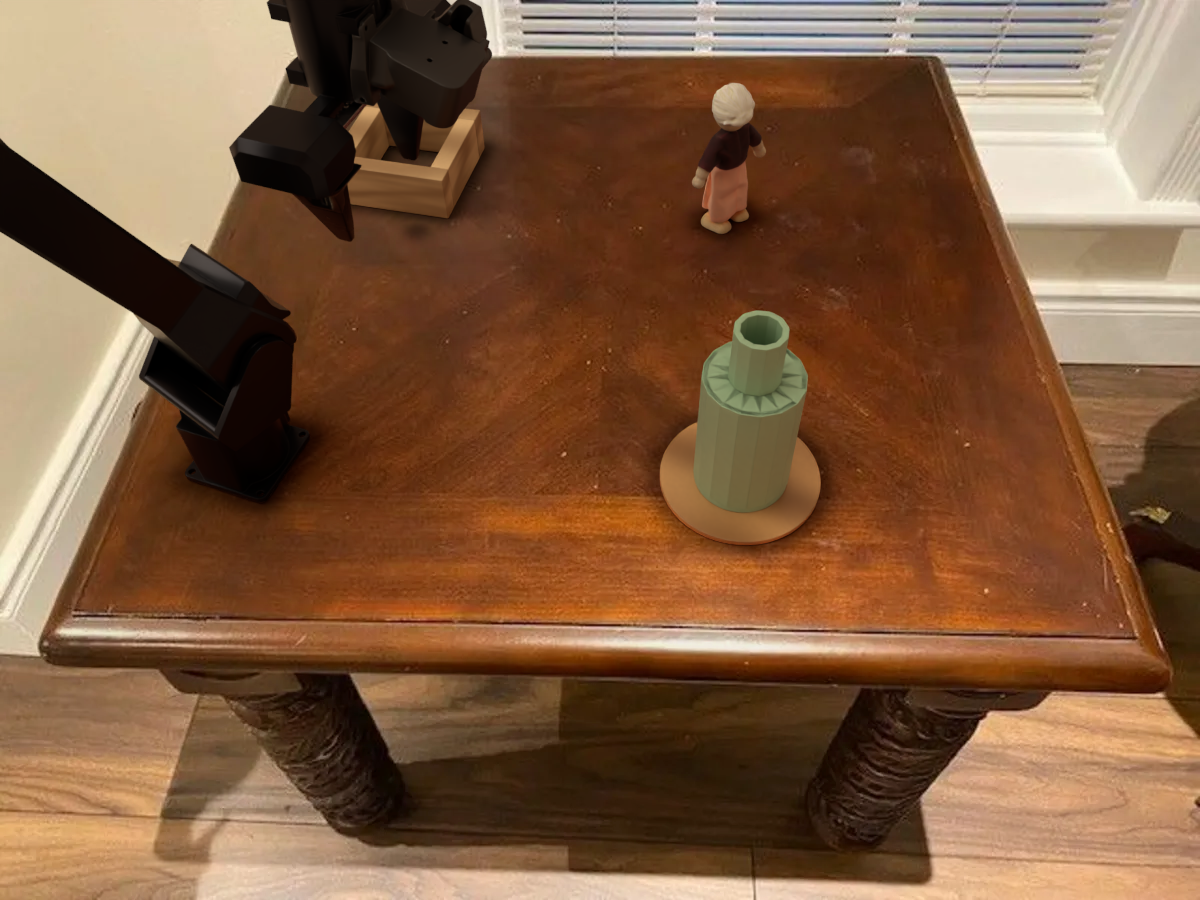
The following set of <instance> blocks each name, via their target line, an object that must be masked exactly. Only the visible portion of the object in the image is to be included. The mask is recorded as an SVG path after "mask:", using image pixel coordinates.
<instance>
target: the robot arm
mask: <svg viewBox="0 0 1200 900" xmlns="http://www.w3.org/2000/svg"><path fill="white" fill-rule="evenodd" d="M266 6H267V8H268V12H269V16H270V19H271V20H274V21H279V22H283V23H284V22H285V23H288V26H289V29H290V34H291V38H292V40H293V45H294V48H295V53H296V57H295V58H294V59H293V60H292V61H291V62H290V63H289V64H288V65H287V66H286V67H285V73H286V76H287V79H288V83H289V84H291V85H293V86H300V87H305V88H308V90H309V92H310V94H311V95H313V96H314V97H316V98H315V99H314V100H313V101H312V103H311V104H309V105H308V107H307V108H306V109H305V110H304V111H300V110H297V109H292V108H286V107H283V106H278V105H274V104H273V105H272V104H269V105H268V106H267V107H266V108H265V109H264V110H263V111H262V112H261V113H260V114H259V115H258V116H257V117H256V118H255V119H254V120H253V121H252V122H251V123H250V124H249V125H247V127H246V128H245V129H244V130H243V131H242V132H241V133H240V134H239V135H238V136H237V137H236V139H235V140H234V141H233V142H232V143H231V144H230V146H229V147H228V148H229V152H230V154H231V158H232V160H233V162H234V163H233V164H234V166H235V168H236V172H237V174H238V177H239V179H240V182H242V183H246V184H249V185H253V186H259V187H262V188H266V189H271V190H274V191H279V192H284V193H288V194H291V195H293V197H295V199H297V200H298V201H299V202H300V203H301V204H302V205H303V206H304V207H305V208H306V209H308V210H309V212H310V213H311V214H312V215H313V216H314V217H315V218H316V219H318V220H319V221H320V222H321V223H322V224H323V226H325V228H327V230H328V231H330V232H331V234H333V235H334V236H335V238H337V239H338V240H339V241H345V242H350V243H351V242H353V240H354V239H355V224H354V216H353V210H352V204H351V203H350V197H349V191H348V185H347V184H348V183H349V181H350V180H351V179H352V178H353V177H354V175H355V174H356V173H357V172H358V171H359V169H360V168H361V165H360V164H356V163H354V160H355V155H356V148H355V144H354V140H353V136H352V135H351V134H350V133H349V132H348V131H349V130H347V128H348V127H349V126H350V125H351V123H352V122H354V120H355V119H357V118H358V116H359V115H360V113H361V112H362V110H363V109H364V108H365V106H366V105H370V106H374V105H375V104H376V103H377V104H378V107H379V109H380V111H381V113H382V116H383V118H384V120H385V123H386V125H387V127H388V130H389V132H390V134H391V137H392V139H393V141H394V143H395V145H396V146H397V147H396V146H395V147H396V148H397V150H398V152H399V155H400V156H401V157H402V158H403V159H404V160H409V161H412V162H414V161H417V159H418V158H419V156H420V155H419V154H420V150H419V149H420V142H421V135H422V128H423V121H424V120H425V122H426V123H428V124H430V125H432V126H434V127H436V128H449V127H451V126H453V125H454V124H455V122H456V121H457V119H458V117H459V116H460V114H461V113H462V112H463V110H464V109H465V108H466V109H467V107H468V105H469V104H470V103H472V102H473V101H474V99H475V98H476V94H477V91H478V88H479V84H480V79H481V75H482V72H483V69H484V68H485V67H486V66H487V64H488V63H489V61H490V60H491V59H492V58H493V52H492V49H491V48H490V47H489V46H490V42H491V41H490V40H489V39H487V38H488V30H487V26H486V21H485V18H484V17H485V16H484V12H483V7H482V6H481V5H479V4H477V3H476V2H473V1H472V0H455V1H454V2H453V3H452V4H451V3H450V2H449V1H448V0H267V1H266ZM0 233H1V234H3V235H4V236H6V237H8V238H9V239H10V240H12V241H14V242H16V243H18V244H19V245H21V246H22V247H24V248H25V249H27V250H29V251H31V252H32V253H34V254H35V255H38V257H40V258H42V259H43V260H45V261H46V262H48V263H50V264H51V265H53V266H55V267H56V268H58V269H60V270H61V271H63V272H65V273H66V274H67V275H70V276H71V277H72V278H75V279H76V280H78V281H79V282H81V283H83V284H84V285H86V286H88V287H89V288H91V289H93V290H94V291H95V292H98V293H99V294H101V295H103V296H104V297H106V298H107V299H109V300H111V301H112V302H114V303H116V304H117V305H119V306H120V307H122V308H124V309H125V310H127V311H129V312H130V313H132V314H133V315H134V316H135V318H136V319H137V321H138V322H139V323H140V325H142V326H143V327H144V328H145V329H146V330H147V331H148V332H149V333H150V334H151V335H152V336H153V338H152V340H151V343H150V346H149V348H148V351H147V354H146V357H145V359H144V361H143V365H142V366H141V369H140V371H139V374H138V379H139V381H141V382H142V383H144V384H145V385H146V386H148V387H149V388H150V389H151V390H153V391H154V392H156V393H157V394H158V395H159V396H161V397H162V398H163V399H165V401H167V402H168V403H170V404H171V405H172V406H174V408H177V410H179V414H180V420H179V421H178V422H177V423H176V425H175V427H176V430H177V432H178V433H179V435H180V437H181V439H182V441H183V443H184V445H185V447H186V448H187V450H188V452H189V454H190V457H191V458H192V461H191V463H190V464H189V465H188V467H187V468H186V469H185V471H184V475H185V477H186V479H187V480H188V481H190V482H193V483H197V484H201V485H203V486H206V487H209V488H213V489H214V490H218V491H221V492H224V493H227V494H231V495H234V496H237V497H240V498H242V499H246V500H250V501H252V502H256V503H259V504H261V503H265V502H267V501H268V499H269V498H270V497H271V495H272V494H273V493H274V492H275V490H276V488H277V487H278V485H280V483H281V481H282V480H283V478H284V477H285V476H286V474H287V473H288V471H289V470H290V468H291V467H292V466H293V464H294V463H295V461H296V460H297V458H298V457H299V455H300V454H301V453H302V451H304V448H305V447H306V446H307V444H308V443H309V441H310V440H311V434H310V432H309V430H308V429H306V428H302V427H299V426H295V425H292V424H290V421H291V418H290V414H289V412H290V410H291V409H292V393H293V392H292V391H293V369H294V368H293V366H294V363H293V362H294V350H295V343H296V342H297V339H298V338H297V333H296V332H295V329H294V328H293V327H292V326H291V325H290V323H289V322H287V321H286V320H285V319H286V318H288V317H290V316H291V314H292V311H291V310H289V309H288V308H286V307H285V306H283V305H282V304H280V303H279V302H277V301H276V300H274V299H273V298H271V297H269V296H268V295H267V294H265V293H263V292H262V291H260V289H258V288H257V287H256V285H254V283H252V282H251V281H249V279H247V278H245V277H243V276H242V275H241V274H239V273H237V272H236V271H235V270H233V269H231V268H230V267H229V266H227V265H225V264H223V262H221V261H219V260H217V259H216V258H214V257H213V256H212V255H210V254H209V253H207V252H206V251H204V250H203V249H201V248H199V247H198V246H196V245H195V244H193V243H190V244H189V246H188V247H187V249H186V251H185V252H184V255H183V257H182V258H181V260H179V261H178V260H175V259H170V258H167V257H165V256H163V255H162V254H160V253H159V252H158V251H156V250H155V249H153V248H152V247H151V246H149V245H147V244H146V243H145V242H143V241H142V240H141V239H140V238H138V237H136V236H135V235H133V233H131V232H129V231H128V230H127V229H125V228H124V227H122V226H121V225H120V224H118V223H117V222H115V221H114V220H112V219H111V218H109V217H108V216H107V215H105V214H104V213H102V211H100V210H99V209H97V208H95V207H94V206H93V205H92V204H91V203H88V202H87V201H86V200H84V199H83V198H81V197H80V196H79V195H77V194H76V193H74V192H73V191H72V190H70V189H69V188H67V187H66V186H65V185H64V184H61V183H60V182H59V181H58V180H56V179H54V178H53V177H52V176H50V175H49V174H47V173H46V172H45V171H43V170H42V169H41V168H39V167H38V166H36V165H35V164H33V163H32V162H30V160H28V159H26V158H25V157H23V156H22V155H21V154H20V153H18V152H16V151H15V150H14V149H12V148H11V147H10V146H8V144H7V143H5V141H4V140H3V139H2V138H1V137H0Z"/></svg>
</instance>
